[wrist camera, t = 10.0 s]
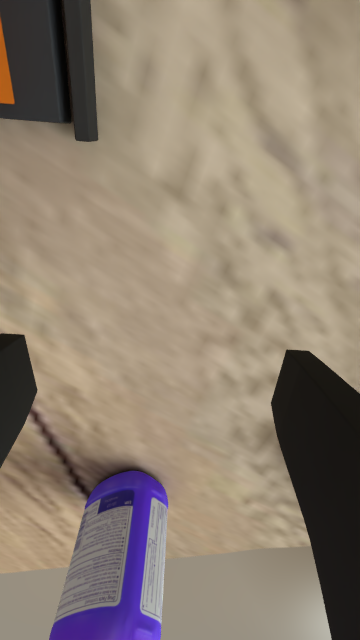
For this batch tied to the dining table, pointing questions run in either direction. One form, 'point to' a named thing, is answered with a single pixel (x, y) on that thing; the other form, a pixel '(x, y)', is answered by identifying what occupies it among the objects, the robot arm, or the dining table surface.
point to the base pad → (81, 68)
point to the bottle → (117, 564)
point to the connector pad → (33, 62)
